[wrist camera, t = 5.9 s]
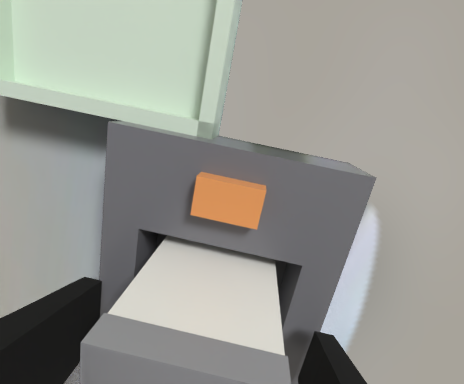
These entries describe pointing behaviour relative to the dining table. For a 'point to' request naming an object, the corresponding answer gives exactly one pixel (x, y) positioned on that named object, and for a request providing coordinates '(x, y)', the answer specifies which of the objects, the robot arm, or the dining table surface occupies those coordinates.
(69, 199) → the dining table surface
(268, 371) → the plug
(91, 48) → the tray
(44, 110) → the dining table surface
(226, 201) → the power strip
